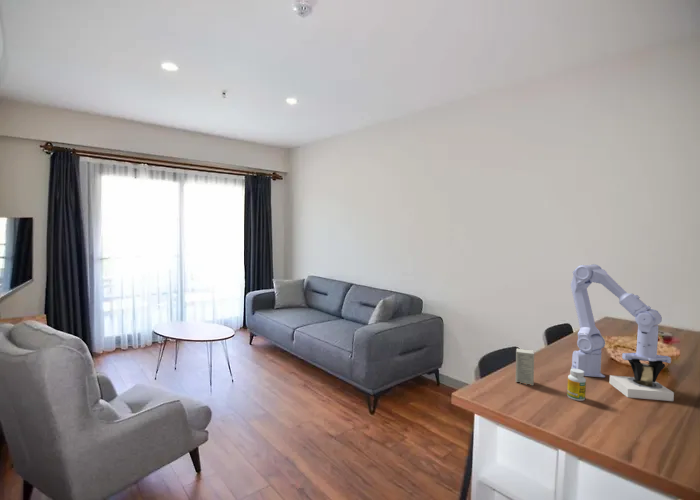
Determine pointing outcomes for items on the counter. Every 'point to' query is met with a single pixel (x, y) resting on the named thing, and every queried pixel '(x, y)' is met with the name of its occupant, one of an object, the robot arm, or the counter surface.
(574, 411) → the counter surface
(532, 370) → the skincare box
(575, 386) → the supplement bottle
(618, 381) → the plate
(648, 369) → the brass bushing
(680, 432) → the counter surface
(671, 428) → the counter surface
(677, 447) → the counter surface
